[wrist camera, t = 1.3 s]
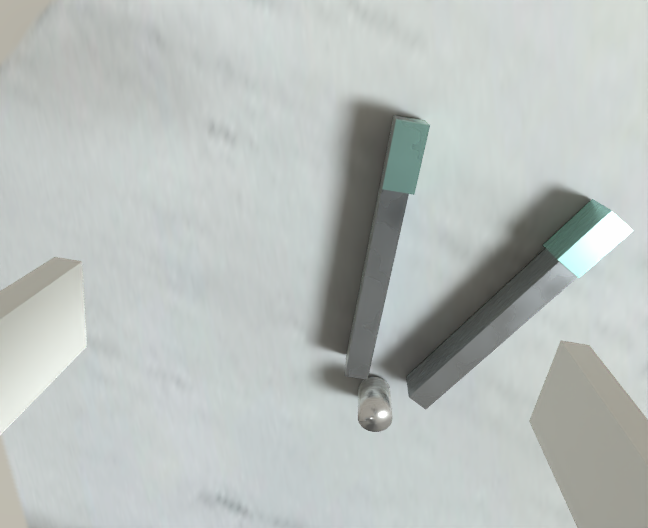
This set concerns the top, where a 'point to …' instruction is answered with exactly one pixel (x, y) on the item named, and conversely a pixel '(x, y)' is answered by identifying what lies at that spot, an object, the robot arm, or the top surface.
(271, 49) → the top surface
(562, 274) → the arm
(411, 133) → the tongs free arm
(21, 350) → the robot arm
